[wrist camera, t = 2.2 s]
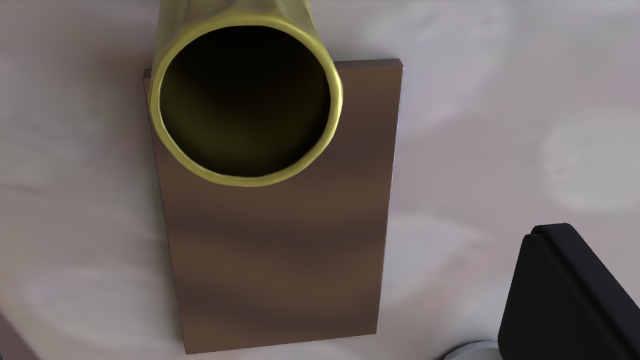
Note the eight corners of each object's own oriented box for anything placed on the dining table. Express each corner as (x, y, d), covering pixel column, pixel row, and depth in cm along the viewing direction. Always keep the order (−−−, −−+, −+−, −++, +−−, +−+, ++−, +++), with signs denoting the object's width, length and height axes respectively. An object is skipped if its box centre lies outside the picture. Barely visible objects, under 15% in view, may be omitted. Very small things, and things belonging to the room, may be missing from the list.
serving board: (144, 69, 30) (142, 78, 29) (399, 58, 32) (404, 66, 31) (186, 343, 41) (185, 355, 41) (373, 323, 43) (376, 334, 42)
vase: (236, 52, 30) (255, 233, 19) (132, -34, 27) (79, 118, 16) (322, -40, 29) (404, 99, 17) (221, -143, 26) (237, -61, 14)
